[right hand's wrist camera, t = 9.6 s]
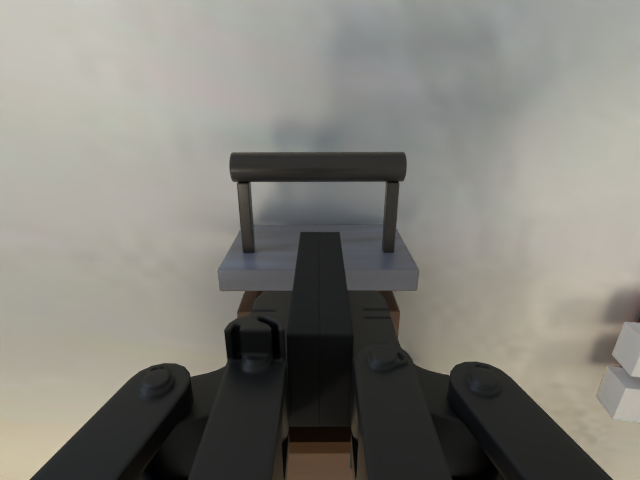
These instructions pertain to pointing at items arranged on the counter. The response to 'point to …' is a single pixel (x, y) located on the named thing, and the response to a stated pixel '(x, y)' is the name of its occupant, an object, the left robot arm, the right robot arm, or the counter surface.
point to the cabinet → (319, 461)
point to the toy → (623, 377)
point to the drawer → (283, 240)
